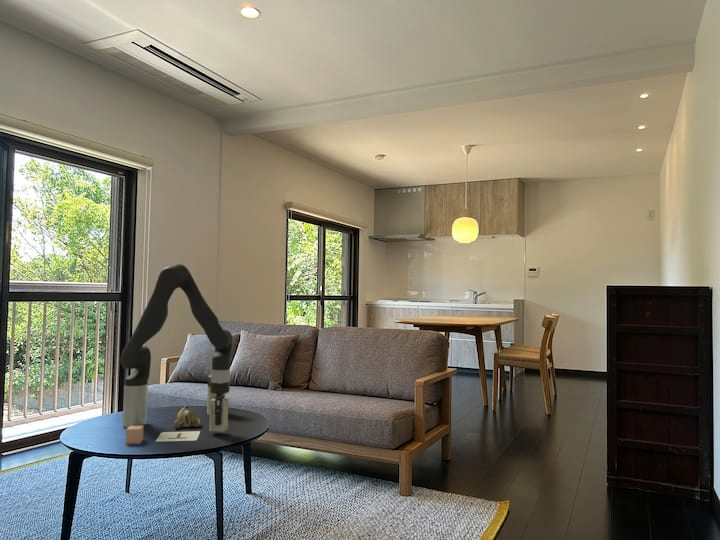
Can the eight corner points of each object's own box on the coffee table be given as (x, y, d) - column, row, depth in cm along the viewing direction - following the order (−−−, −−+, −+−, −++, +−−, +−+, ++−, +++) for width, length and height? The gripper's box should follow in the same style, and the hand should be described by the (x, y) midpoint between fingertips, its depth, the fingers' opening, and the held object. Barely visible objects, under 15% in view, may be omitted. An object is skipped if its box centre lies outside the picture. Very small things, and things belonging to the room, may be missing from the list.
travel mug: (218, 416, 241) (220, 377, 242) (203, 415, 243) (204, 376, 244) (227, 413, 249) (229, 374, 249) (213, 411, 251) (214, 373, 251)
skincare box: (228, 429, 212) (229, 398, 213) (223, 432, 208) (224, 401, 208) (213, 428, 214) (214, 397, 214) (208, 430, 209) (209, 399, 210)
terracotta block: (129, 441, 200) (129, 425, 200) (142, 441, 201) (143, 425, 201) (125, 445, 195) (126, 429, 195) (139, 445, 196) (140, 429, 196)
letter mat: (161, 433, 212) (161, 432, 212) (200, 432, 214) (200, 431, 214) (155, 443, 199) (155, 441, 199) (196, 441, 202) (196, 440, 202)
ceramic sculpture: (198, 401, 232) (201, 411, 218) (197, 421, 232) (201, 431, 219) (172, 403, 228) (174, 413, 214) (172, 423, 228) (173, 434, 215)
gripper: (212, 377, 218) (210, 418, 217) (209, 383, 204) (207, 427, 203) (230, 377, 219) (229, 418, 219) (229, 383, 205) (227, 427, 205)
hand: (218, 422), depth 211 cm, fingers closed on skincare box, 5 cm apart
